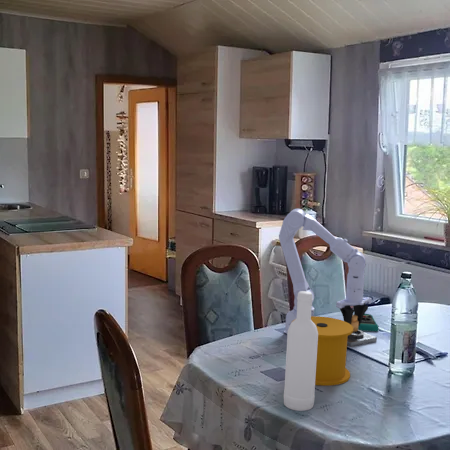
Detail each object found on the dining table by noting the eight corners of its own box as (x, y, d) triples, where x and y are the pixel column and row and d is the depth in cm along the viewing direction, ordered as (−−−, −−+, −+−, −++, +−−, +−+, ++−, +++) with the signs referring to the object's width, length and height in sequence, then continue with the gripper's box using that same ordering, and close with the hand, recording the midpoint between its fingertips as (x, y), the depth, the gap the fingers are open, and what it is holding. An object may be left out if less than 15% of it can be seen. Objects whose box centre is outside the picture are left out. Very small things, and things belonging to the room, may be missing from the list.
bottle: (277, 403, 163) (283, 291, 158) (296, 395, 168) (302, 287, 164) (301, 414, 157) (308, 298, 153) (320, 405, 163) (327, 293, 158)
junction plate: (350, 346, 209) (351, 339, 208) (326, 336, 219) (327, 329, 218) (376, 341, 215) (377, 334, 215) (352, 331, 225) (352, 324, 225)
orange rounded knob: (352, 332, 213) (352, 318, 213) (343, 328, 217) (344, 315, 216) (360, 330, 216) (361, 316, 215) (352, 327, 219) (353, 313, 218)
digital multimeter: (371, 320, 241) (372, 313, 240) (378, 332, 226) (379, 325, 226) (352, 319, 241) (353, 312, 241) (358, 331, 227) (358, 323, 226)
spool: (352, 367, 191) (355, 319, 188) (347, 389, 173) (351, 337, 171) (293, 359, 195) (296, 312, 193) (283, 380, 178) (286, 330, 176)
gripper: (347, 292, 207) (344, 332, 209) (378, 288, 214) (375, 326, 217) (333, 287, 213) (330, 326, 215) (364, 283, 220) (361, 320, 222)
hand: (352, 325), depth 216 cm, fingers closed on orange rounded knob, 4 cm apart
